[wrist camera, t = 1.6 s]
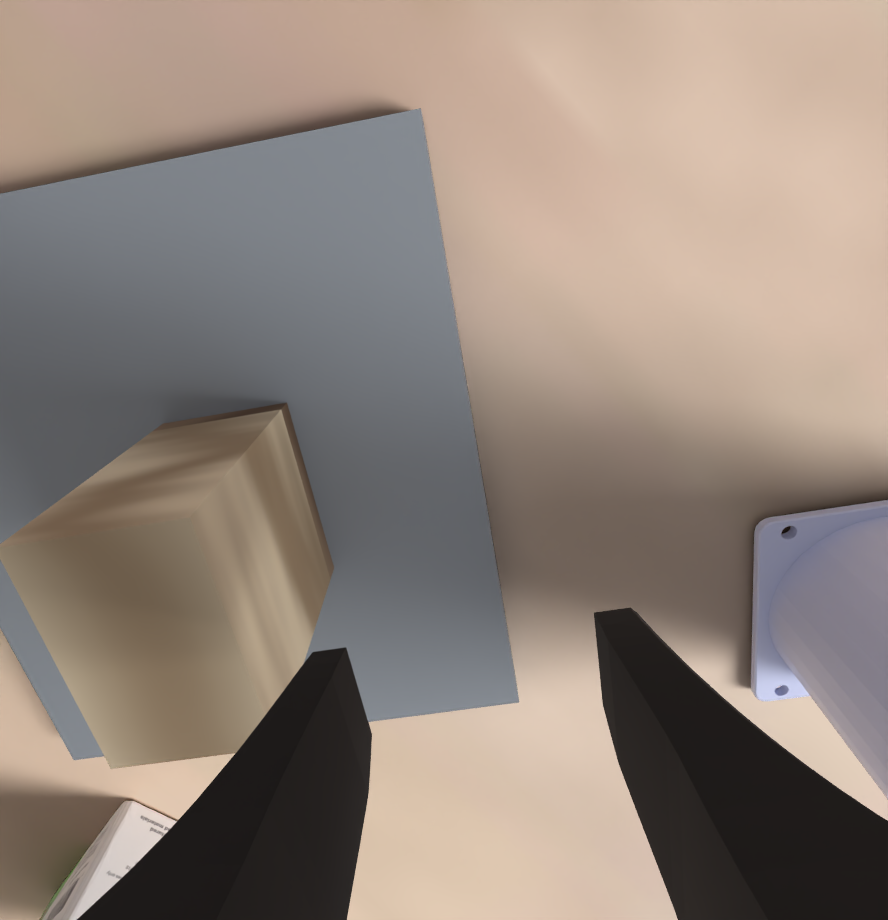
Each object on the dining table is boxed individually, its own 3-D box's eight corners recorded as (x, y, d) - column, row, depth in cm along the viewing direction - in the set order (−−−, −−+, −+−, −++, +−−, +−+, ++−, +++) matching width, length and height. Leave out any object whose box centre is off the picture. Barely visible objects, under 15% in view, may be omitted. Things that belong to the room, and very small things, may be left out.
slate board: (422, 114, 16) (420, 108, 15) (516, 683, 24) (518, 702, 23) (-182, 236, 18) (-217, 237, 17) (87, 739, 25) (73, 759, 24)
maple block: (286, 402, 18) (189, 517, 11) (334, 568, 21) (277, 747, 14) (162, 423, 19) (-6, 548, 12) (222, 584, 21) (111, 768, 14)
